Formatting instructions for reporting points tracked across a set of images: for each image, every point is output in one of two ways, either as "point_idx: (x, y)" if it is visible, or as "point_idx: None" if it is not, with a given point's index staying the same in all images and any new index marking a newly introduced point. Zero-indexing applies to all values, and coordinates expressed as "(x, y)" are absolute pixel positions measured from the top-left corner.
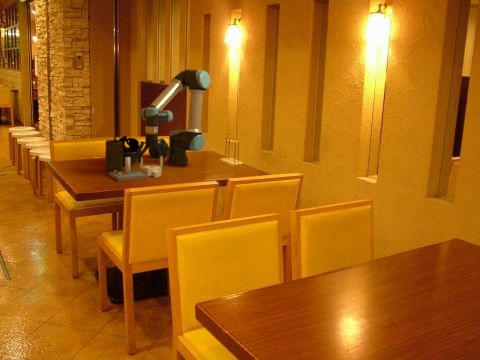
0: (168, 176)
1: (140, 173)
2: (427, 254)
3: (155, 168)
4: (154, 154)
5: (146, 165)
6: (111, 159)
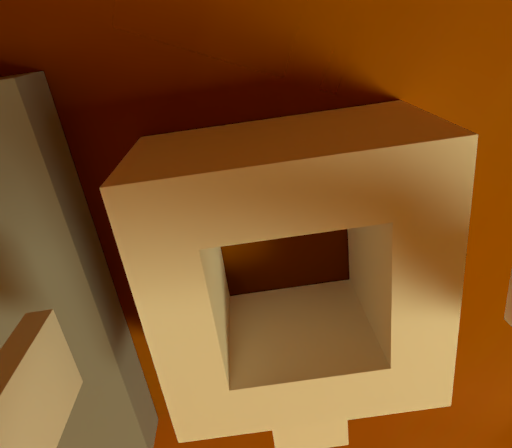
0: None
1: None
2: None
3: (327, 412)
4: None
5: (222, 186)
6: None
